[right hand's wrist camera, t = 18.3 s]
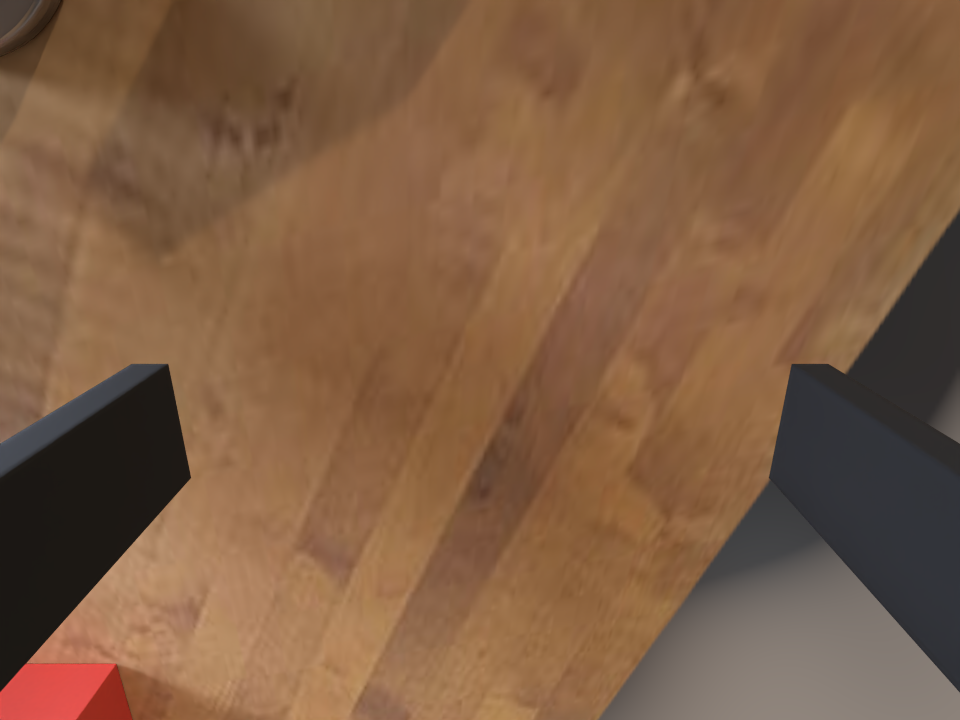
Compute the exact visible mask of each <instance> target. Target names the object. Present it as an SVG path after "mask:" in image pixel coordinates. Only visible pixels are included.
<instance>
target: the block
mask: <svg viewBox="0 0 960 720" xmlns="http://www.w3.org/2000/svg"><path fill="white" fill-rule="evenodd" d="M0 720H132V717H131V713H130V710H129V706H128V703H127V699H126V696H125V692H124V689H123V685H122V682H121V678H120V675H119V672H118V668H117V665H116V664H25V665H24V666H23V667H22V668H21V669H20V671H19V672H18V673H17V674H16V675H15V676H14V677H13V678H12V680H11V681H10V682H9V683H8V684H7V685H6V686H5V687H4V689H3V690H2V691H1V692H0Z"/></svg>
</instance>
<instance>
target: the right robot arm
mask: <svg viewBox="0 0 960 720" xmlns="http://www.w3.org/2000/svg"><path fill="white" fill-rule="evenodd" d="M60 1H61V0H0V56H2V55H5V54H7V53H10V52H12V51H14V50H16V49H18V48H20V47H22V46H23V45H25V44H26V43H27V42H29V41H30V40H32V39H33V38H34V37H35V36H36V35H37V34H38V33H39V32H40V31H41V30H42V29H43V28H44V27H45V26H46V24H47V23H48V22H49V21H50V19H51V18H52V16H53V14H54V13H55V11H56V10H57V8H58V6H59V3H60ZM190 478H191V476H190V471H189V466H188V461H187V456H186V451H185V446H184V441H183V436H182V431H181V426H180V421H179V416H178V411H177V406H176V401H175V396H174V391H173V386H172V381H171V376H170V371H169V366H168V364H131V365H129V366H128V367H126V368H124V369H123V370H121V371H120V372H118V373H116V374H115V375H113V376H111V377H110V378H108V379H106V380H105V381H103V382H101V383H100V384H98V385H96V386H95V387H93V388H91V389H90V390H88V391H87V392H85V393H83V394H82V395H80V396H78V397H77V398H75V399H73V400H72V401H70V402H68V403H67V404H65V405H63V406H62V407H60V408H58V409H57V410H55V411H54V412H52V413H50V414H49V415H47V416H45V417H44V418H42V419H40V420H39V421H37V422H35V423H34V424H32V425H30V426H29V427H27V428H26V429H24V430H22V431H21V432H19V433H17V434H16V435H14V436H12V437H11V438H9V439H7V440H6V441H4V442H2V443H1V444H0V692H1V691H2V690H3V689H4V687H5V686H6V685H7V684H8V683H9V682H10V681H11V680H12V678H13V677H14V676H15V675H16V674H17V673H18V672H19V671H20V669H21V668H22V667H23V666H24V665H25V664H26V663H27V662H28V660H29V659H30V658H31V657H32V656H33V655H34V654H35V653H36V652H37V650H38V649H39V648H40V647H41V646H42V645H43V644H44V643H45V641H46V640H47V639H48V638H49V637H50V636H51V635H52V634H53V632H54V631H55V630H56V629H57V628H58V627H59V626H60V625H61V623H62V622H63V621H64V620H65V619H66V618H67V617H68V616H69V614H70V613H71V612H72V611H73V610H74V609H75V608H76V607H77V605H78V604H79V603H80V602H81V601H82V600H83V599H84V598H85V596H86V595H87V594H88V593H89V592H90V591H91V590H92V589H93V587H94V586H95V585H96V584H97V583H98V582H99V581H100V580H101V578H102V577H103V576H104V575H105V574H106V573H107V572H108V571H109V569H110V568H111V567H112V566H113V565H114V564H115V563H116V562H117V560H118V559H119V558H120V557H121V556H122V555H123V554H124V553H125V551H126V550H127V549H128V548H129V547H130V546H131V545H132V544H133V542H134V541H135V540H136V539H137V538H138V537H139V536H140V535H141V533H142V532H143V531H144V530H145V529H146V528H147V527H148V526H149V524H150V523H151V522H152V521H153V520H154V519H155V518H156V517H157V515H158V514H159V513H160V512H161V511H162V510H163V509H164V508H165V506H166V505H167V504H168V503H169V502H170V501H171V500H172V499H173V497H174V496H175V495H176V494H177V493H178V492H179V491H180V490H181V488H182V487H183V486H184V485H185V484H186V483H187V482H188V481H189V479H190ZM769 478H770V479H771V481H772V482H773V483H774V484H775V485H776V486H777V487H778V488H779V490H780V491H781V492H782V493H783V494H784V495H785V496H786V497H787V499H788V500H789V501H790V502H791V503H792V504H793V505H794V506H795V508H796V509H797V510H798V511H799V512H800V513H801V514H802V515H803V517H804V518H805V519H806V520H807V521H808V522H809V523H810V524H811V525H812V527H813V528H814V529H815V530H816V531H817V532H818V533H819V535H820V536H821V537H822V538H823V539H824V540H825V541H826V542H827V544H828V545H829V546H830V547H831V548H832V549H833V550H834V551H835V553H836V554H837V555H838V556H839V557H840V558H841V559H842V560H843V562H844V563H845V564H846V565H847V566H848V567H849V568H850V569H851V570H852V572H853V573H854V574H855V575H856V576H857V577H858V578H859V580H860V581H861V582H862V583H863V584H864V585H865V586H866V587H867V589H868V590H869V591H870V592H871V593H872V594H873V595H874V596H875V598H876V599H877V600H878V601H879V602H880V603H881V604H882V605H883V607H884V608H885V609H886V610H887V611H888V612H889V613H890V614H891V616H892V617H893V618H894V619H895V620H896V621H897V622H898V623H899V625H900V626H901V627H902V628H903V629H904V630H905V631H906V632H907V634H908V635H909V636H910V637H911V638H912V639H913V640H914V641H915V642H916V644H917V645H918V646H919V647H920V648H921V649H922V650H923V651H924V653H925V654H926V655H927V656H928V657H929V658H930V659H931V660H932V662H933V663H934V664H935V665H936V666H937V667H938V668H939V669H940V671H941V672H942V673H943V674H944V675H945V676H946V677H947V678H948V679H949V681H950V682H951V683H952V684H953V685H954V686H955V687H956V689H957V690H958V691H959V692H960V444H959V443H958V442H956V441H954V440H953V439H951V438H949V437H948V436H946V435H944V434H943V433H941V432H939V431H938V430H936V429H934V428H933V427H931V426H930V425H928V424H926V423H925V422H923V421H921V420H920V419H918V418H916V417H915V416H913V415H911V414H910V413H908V412H906V411H905V410H903V409H901V408H900V407H898V406H897V405H895V404H893V403H892V402H890V401H888V400H887V399H885V398H883V397H882V396H880V395H878V394H877V393H875V392H873V391H872V390H870V389H868V388H867V387H865V386H864V385H862V384H860V383H859V382H857V381H855V380H854V379H852V378H850V377H849V376H847V375H845V374H844V373H842V372H840V371H839V370H837V369H836V368H834V367H832V366H831V365H829V364H792V366H791V371H790V376H789V381H788V386H787V391H786V396H785V401H784V406H783V411H782V416H781V421H780V426H779V431H778V436H777V441H776V446H775V451H774V456H773V461H772V466H771V471H770V476H769Z"/></svg>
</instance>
